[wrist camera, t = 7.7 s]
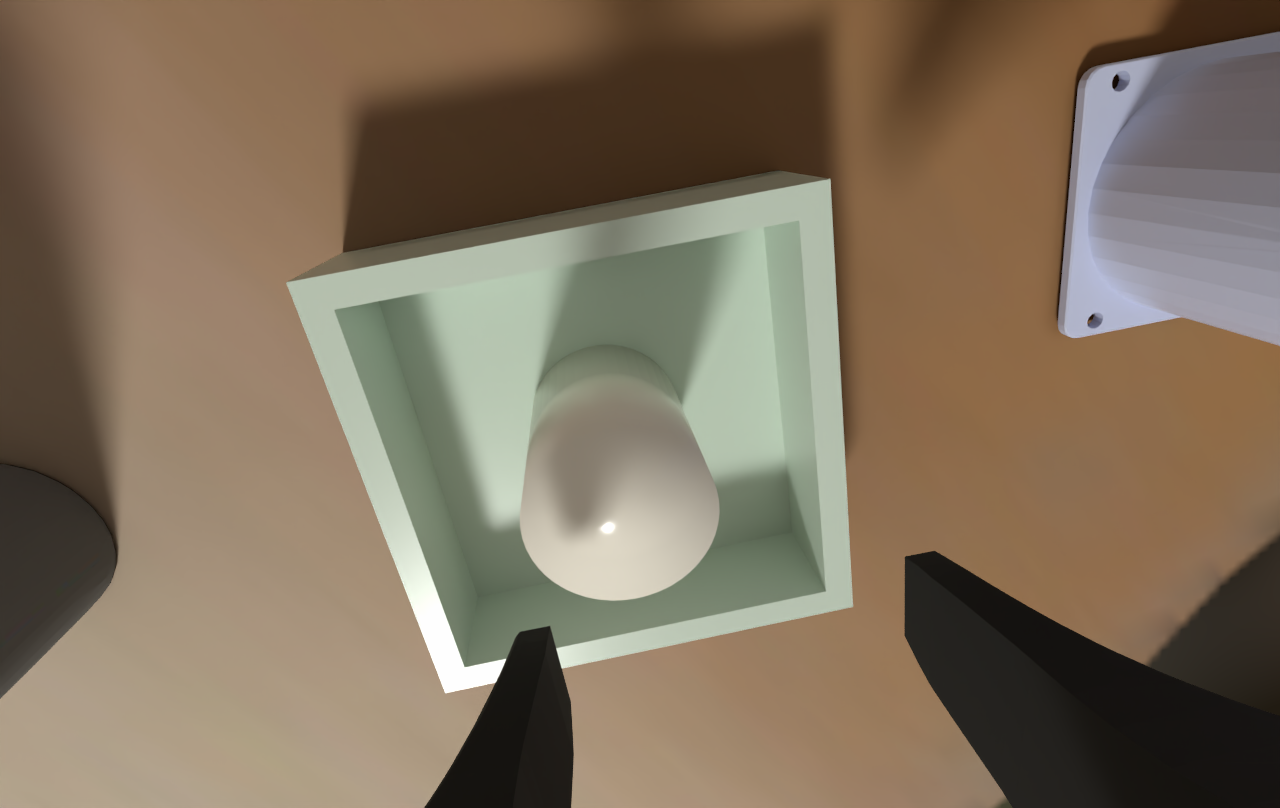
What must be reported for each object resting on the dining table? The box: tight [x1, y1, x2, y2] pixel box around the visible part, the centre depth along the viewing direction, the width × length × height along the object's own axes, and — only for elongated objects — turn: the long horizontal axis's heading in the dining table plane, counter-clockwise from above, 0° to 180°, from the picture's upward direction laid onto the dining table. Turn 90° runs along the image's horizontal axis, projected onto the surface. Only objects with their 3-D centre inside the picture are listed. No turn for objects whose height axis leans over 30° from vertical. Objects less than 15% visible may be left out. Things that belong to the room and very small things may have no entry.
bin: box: [286, 170, 853, 693], centre depth 19 cm, size 13×13×4 cm
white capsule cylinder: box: [520, 345, 720, 601], centre depth 17 cm, size 4×4×6 cm
